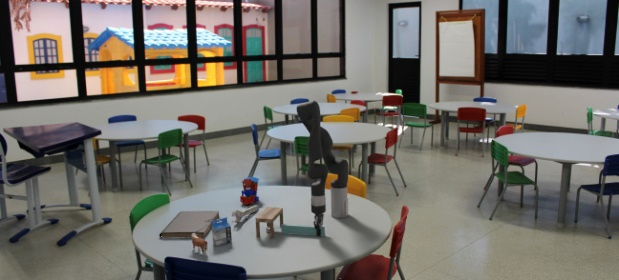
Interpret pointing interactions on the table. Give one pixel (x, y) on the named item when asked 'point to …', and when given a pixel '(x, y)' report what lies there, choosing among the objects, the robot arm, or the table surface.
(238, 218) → the wrench
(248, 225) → the table surface
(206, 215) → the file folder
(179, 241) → the table surface
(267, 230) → the puck
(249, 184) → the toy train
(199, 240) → the bull figurine
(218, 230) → the label tape box
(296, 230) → the long teal stick
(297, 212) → the table surface
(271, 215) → the bench
